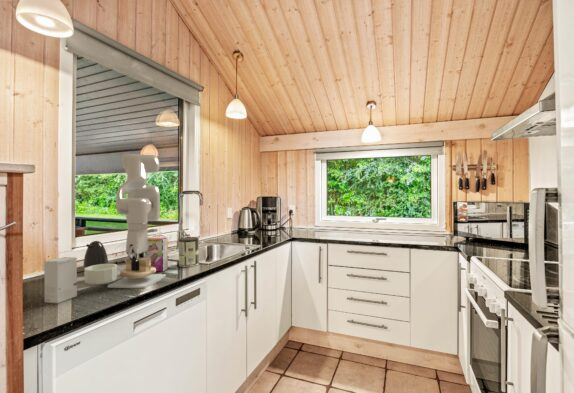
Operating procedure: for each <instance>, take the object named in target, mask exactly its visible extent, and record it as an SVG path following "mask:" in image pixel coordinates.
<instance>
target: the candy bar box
mask: <svg viewBox="0 0 574 393" xmlns="http://www.w3.org/2000/svg"><path fill="white" fill-rule="evenodd" d="M146 258H151V266H152V267H155V268H156V272H155V273H157V272H159V273H160V272H161V273H163V272H165V271H167V270H168V269H169V268H168V267H169V265H168V237H165V236H164V237H163V236H148V251H147V253H146Z"/></svg>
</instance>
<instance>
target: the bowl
mask: <svg viewBox="0 0 574 393" xmlns="http://www.w3.org/2000/svg"><path fill="white" fill-rule="evenodd" d="M116 280H117V281H118V264H116V263H108V264H98V265H93V266H89V267H86V268H84V284H85V285H91V286H98V285H104V284H109V283H110V284H111V283H114V282H116Z"/></svg>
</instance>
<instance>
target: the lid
mask: <svg viewBox="0 0 574 393" xmlns="http://www.w3.org/2000/svg"><path fill="white" fill-rule="evenodd" d="M127 258H128V257H127ZM127 258H125V259H126V262H125V268H124V269H122V270H120V272H119V276H121V277H123V278H125V277H127V278H142V277H146V276H149V275H151V274H156V273H157V272H156V268H155V267H152V266H151V258H138V261H139V270H138V271H132V270H131V259H130V258H128V259H127Z"/></svg>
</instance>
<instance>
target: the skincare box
mask: <svg viewBox="0 0 574 393" xmlns="http://www.w3.org/2000/svg"><path fill="white" fill-rule="evenodd" d="M77 260H78V259H77V256H75V257H74V256H72V257H71V256H70V257H67V256H66V257H65V256H64V257H58V258H53V259H49V260H48V259H47V260H45V261H44V262H43V263H44V266H43V269H44V270H43V271H44V273H43V274H44V302H45V303H50V304H60V303H62V302H65V301H68V300H71V299H72V298H76V297H77V296H78V272H77V271H78V269H77V268H78V266H77V265H78V264H77V263H78V261H77Z"/></svg>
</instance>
